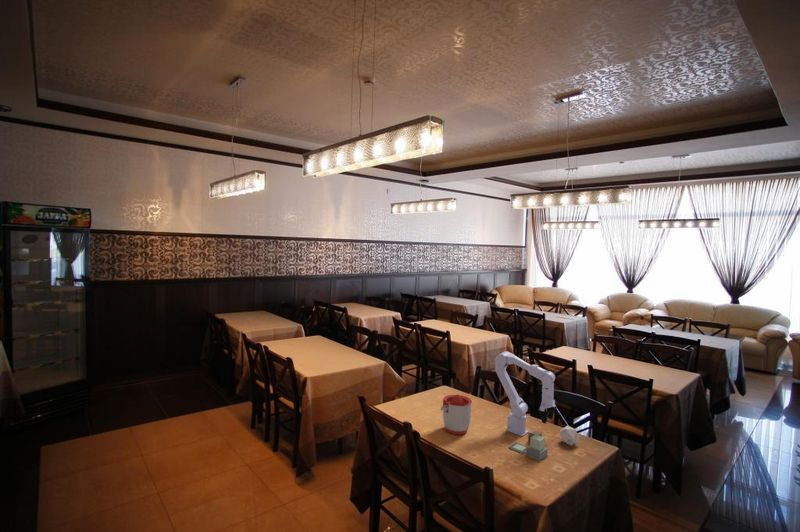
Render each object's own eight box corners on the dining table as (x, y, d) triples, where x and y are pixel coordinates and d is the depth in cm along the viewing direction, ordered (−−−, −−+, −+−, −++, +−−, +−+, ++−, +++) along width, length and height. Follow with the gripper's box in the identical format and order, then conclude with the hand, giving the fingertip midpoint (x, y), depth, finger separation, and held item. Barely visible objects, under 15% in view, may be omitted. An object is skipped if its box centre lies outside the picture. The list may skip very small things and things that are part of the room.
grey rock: (562, 447, 201) (575, 435, 197) (552, 432, 208) (565, 420, 205) (572, 450, 205) (585, 438, 201) (562, 435, 212) (575, 423, 208)
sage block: (530, 447, 191) (530, 437, 191) (534, 444, 194) (534, 434, 194) (540, 451, 187) (540, 441, 187) (544, 447, 191) (544, 437, 191)
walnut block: (528, 441, 205) (528, 432, 205) (532, 438, 209) (532, 429, 208) (537, 445, 201) (537, 435, 201) (541, 441, 205) (541, 432, 205)
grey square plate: (508, 448, 197) (508, 447, 197) (515, 443, 203) (516, 441, 203) (523, 454, 191) (523, 453, 191) (530, 448, 197) (530, 447, 197)
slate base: (526, 455, 191) (526, 447, 191) (534, 450, 196) (534, 443, 196) (539, 461, 186) (539, 453, 186) (547, 456, 190) (547, 448, 190)
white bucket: (434, 426, 219) (435, 391, 218) (461, 422, 225) (463, 388, 224) (447, 439, 204) (448, 401, 203) (476, 434, 210) (477, 398, 210)
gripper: (549, 400, 198) (548, 427, 199) (560, 393, 209) (560, 419, 209) (536, 397, 203) (535, 423, 203) (547, 390, 214) (547, 415, 214)
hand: (547, 420), depth 207 cm, fingers open, 7 cm apart
